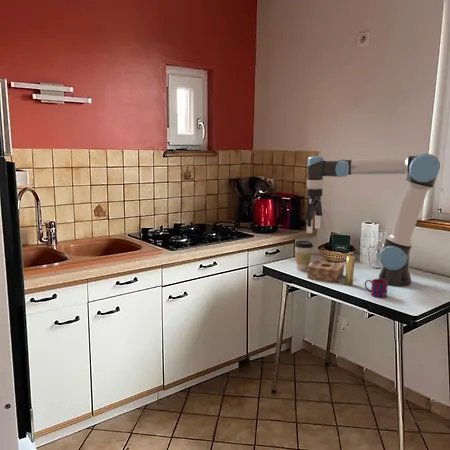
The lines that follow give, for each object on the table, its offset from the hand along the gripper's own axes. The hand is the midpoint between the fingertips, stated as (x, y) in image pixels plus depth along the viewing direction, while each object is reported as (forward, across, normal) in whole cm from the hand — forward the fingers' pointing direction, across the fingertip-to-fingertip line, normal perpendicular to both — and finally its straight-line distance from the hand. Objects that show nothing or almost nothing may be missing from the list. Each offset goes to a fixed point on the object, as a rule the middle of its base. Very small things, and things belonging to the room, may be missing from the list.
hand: (313, 230), depth 229 cm
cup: (+26, +11, +33) cm, 43 cm away
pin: (+25, +2, +19) cm, 31 cm away
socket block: (+25, -5, +5) cm, 26 cm away
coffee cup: (+24, -12, -9) cm, 29 cm away
